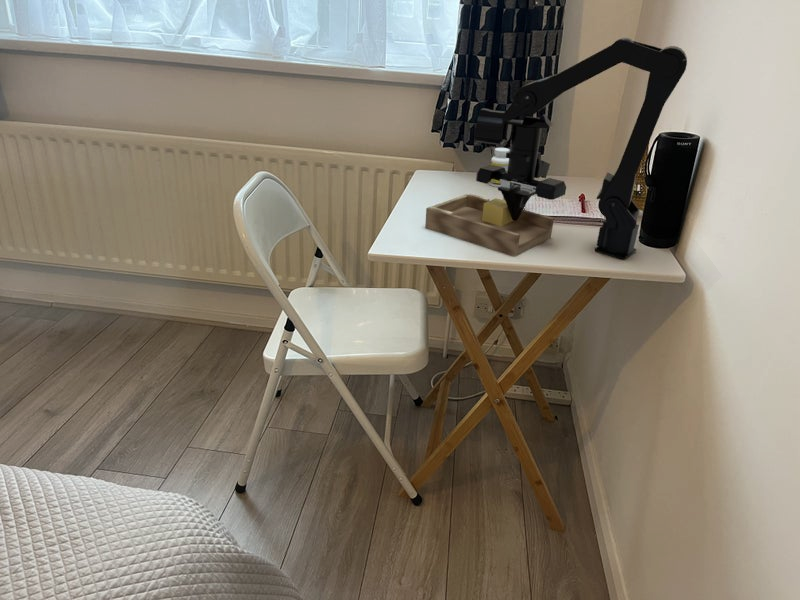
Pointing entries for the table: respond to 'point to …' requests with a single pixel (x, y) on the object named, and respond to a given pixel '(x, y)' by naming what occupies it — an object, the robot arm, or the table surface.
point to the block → (496, 212)
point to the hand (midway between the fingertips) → (514, 220)
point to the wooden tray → (488, 225)
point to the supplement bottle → (499, 163)
